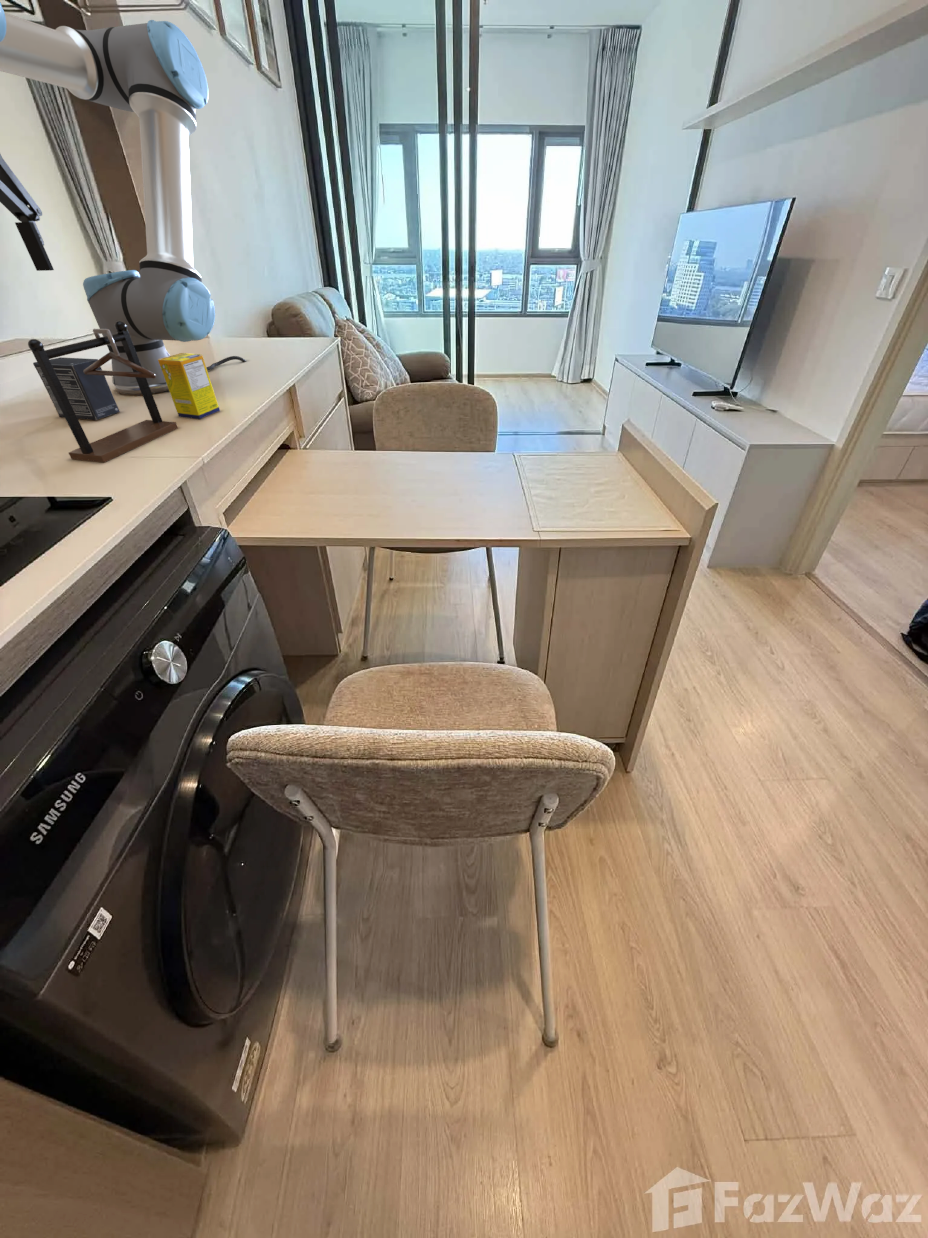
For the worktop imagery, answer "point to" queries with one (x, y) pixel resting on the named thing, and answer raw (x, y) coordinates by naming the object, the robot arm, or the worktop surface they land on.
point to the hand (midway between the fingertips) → (12, 274)
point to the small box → (81, 388)
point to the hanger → (92, 368)
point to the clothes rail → (87, 451)
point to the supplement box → (189, 385)
